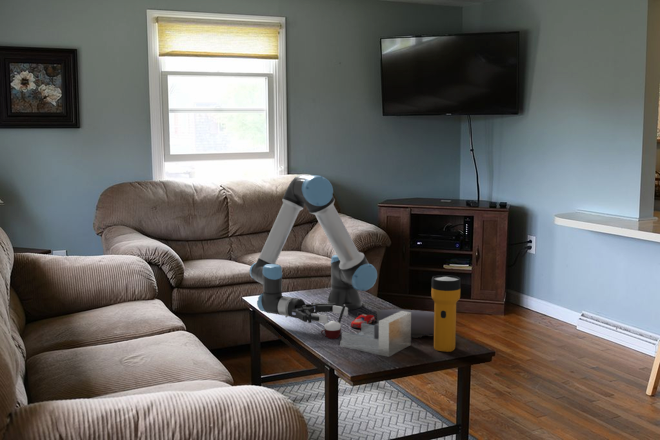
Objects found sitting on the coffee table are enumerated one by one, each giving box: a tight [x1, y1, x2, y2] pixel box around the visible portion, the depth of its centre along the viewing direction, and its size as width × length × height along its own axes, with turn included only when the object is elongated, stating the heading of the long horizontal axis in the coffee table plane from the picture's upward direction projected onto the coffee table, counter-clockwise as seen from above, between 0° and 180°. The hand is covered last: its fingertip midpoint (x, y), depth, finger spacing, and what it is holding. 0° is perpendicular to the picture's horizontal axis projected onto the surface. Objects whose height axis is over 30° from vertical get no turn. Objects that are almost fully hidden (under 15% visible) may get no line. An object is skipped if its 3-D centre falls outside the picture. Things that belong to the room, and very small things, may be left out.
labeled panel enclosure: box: [339, 311, 412, 358], centre depth 245 cm, size 16×20×12 cm
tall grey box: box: [373, 322, 379, 339], centre depth 244 cm, size 4×3×6 cm
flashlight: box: [430, 274, 462, 353], centre depth 241 cm, size 10×26×10 cm
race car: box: [350, 313, 376, 329], centre depth 272 cm, size 13×5×4 cm, turn 146°
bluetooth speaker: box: [376, 308, 434, 338], centre depth 257 cm, size 23×9×10 cm, turn 78°
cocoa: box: [320, 305, 346, 340], centre depth 255 cm, size 10×6×12 cm, turn 88°
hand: (337, 315), depth 254 cm, fingers open, 13 cm apart
